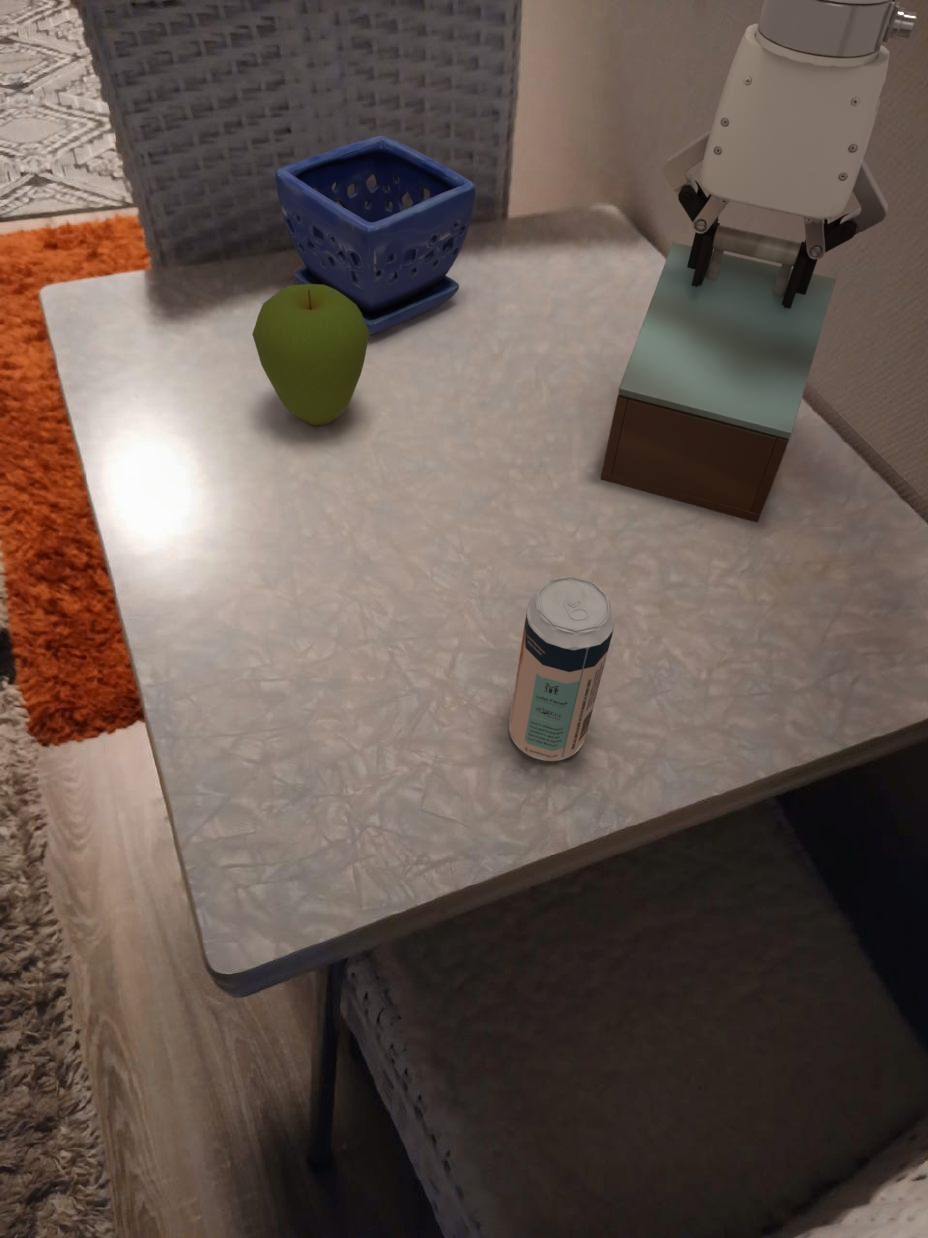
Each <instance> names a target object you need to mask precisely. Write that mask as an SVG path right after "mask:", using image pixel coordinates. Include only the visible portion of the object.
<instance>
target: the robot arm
mask: <svg viewBox="0 0 928 1238" xmlns="http://www.w3.org/2000/svg"><path fill="white" fill-rule="evenodd" d="M900 5H901V1H899V0H763V4H762V8H761V10H760V11H761V12H760V16H759V20H758V23H753V24H750V25H748V27H746V29H745V32H744V34H743V35H742V38H741V40H740V42H739V44H738V47H737V50H736V51H735V55H734V57H733V61H732V63H731V66H730V68H729V71H728V74H727V78H726V80H725V83H724V85H723V90H722V92H721V95H720V99H719V102H718V105H717V108H716V111H715V115H714V119H713V122H712V124H711V125H712V126H711V128H710V129H708V130H707V131H705V132H704V133H703V134H701V135H700V136H698V137H696V139H694V140H693V141H691V142H689V143H688V144H687V145H685V146H683V147H682V148H681V149H679V150H678V151H676V152H674V153H673V154H672V155H670V156H669V157H668V158H667V159H666V161H664V164H663V166H662V170H661V171H662V174H663V176H664V178H665V179H666V181H667V183H668V184H669V185H670V187H671V189H672V190H673V192H675V193H676V195H677V199H678V202H679V203H680V205H681V207H682V208H683V210H684V211H685V213H686V215H687V216H688V218H689V219H690V221H691V223H692V224H691V225H692V229H693V231H694V232H695V233H694V236H693V240H692V245H691V246H692V249H691V253H690V257H689V261H688V265H687V268H691V269H695V272H694V276H693V280H692V285H691V286H695V287H698V286H701V285H702V283H703V280H704V278H705V276H706V273H707V271H708V268H709V264H710V260H711V256H712V253H713V251H714V248H712V243H713V239H714V236H715V232H716V229H717V227H718V225H721V223H720V222H719V220H720V219H719V216H720V215H721V214H722V212H723V211H724V209H725V208H726V206H727V205H728V204H729V202H731V203H732V202H733V203H737V204H742V205H746V206H750V207H755V208H760V209H765V210H768V211H773V212H778V213H783V214H786V215H787V214H788V215H792V216H797V217H801V218H803V222H804V233H805V239H804V241H801V242H800V243H801V247H800V250H799V253H798V256H797V259H796V262H795V265H794V266H792V268H791V269H792V272H791V275H790V278H789V282H788V285H787V288H786V291H785V294H784V298H783V301H782V305H784V308H788V309H791V306H792V303H793V300H794V297H795V294H796V293H798V294H803V295H805V294H806V292H807V289H808V286H809V283H810V280H811V277H812V274H814V271H815V268H816V265H817V263H818V260H820V259H822V258H823V257H824V256H825V254H826V253H827V252H830V251H831V250H833V249H835V248H837V247H839V246H841V245H842V244H844V243H847V242H848V241H850V240H851V239H853V238H854V237H855V236H856V235H857V234H859V233H863V232H865V231H867V230H868V229H870V228H872V227H874V226H876V225H877V224H880V223H881V222H883V221H884V220H886V218H887V215H888V209H889V204H888V202H887V200H886V198H885V196H884V194H883V192H882V190H881V188H880V186H879V185H878V183H877V181H876V179H875V178H874V175H873V173H872V171H871V170H870V168H869V166H868V164H867V162H866V160H865V154H866V151H867V149H868V145H869V142H870V140H871V137H872V132H873V128H874V126H875V122H876V119H877V116H878V112H879V108H880V104H881V100H882V96H883V93H884V89H885V86H886V85H885V84H886V79H887V74H888V68H889V62H890V50H889V49H888V48H887V47H885V46H884V45H882V44H883V43H888V40H889V38H891V39H896V38H897V37H900V38H904V39H909V38H910V37H911V34H912V31H913V28H914V27H915V22H916V20H917V16H918V12H917V11H909V10H906V9H907V8H906V7H903V6H900ZM700 162H702V163H701V168H700V173H699V182H698V181H697V180H695V179H694V177H693V174H692V172H691V171H690V169H691V168H693V167H694V166H696V165H697V164H699V163H700ZM704 191H705V192H706V193H707V194H708V195H706V193H705V192H704ZM852 193H853V194H854V196H855V198H856V200H857V202H858V204H859V207H858V208H856V209H855V210H854V211H852V212H850V213H846V214H843V215H842V213H843V212H844V210H845V209H846V207H847V205H848V202H849V200H850V198H851V195H852ZM840 215H841V216H840ZM834 218H836V219H834ZM831 219H834V220H833V221H829V220H831Z"/></svg>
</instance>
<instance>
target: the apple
mask: <svg viewBox="0 0 928 1238" xmlns="http://www.w3.org/2000/svg"><path fill="white" fill-rule="evenodd" d="M370 335H371V334H370V332H369V330H368V328H367V325H366V323H365V320H364V318H363V315H362V313H361V312H360V310H359V308H358V307H357V305H356V304H355V303H354V302H352V301H351V300H350V299H348V298H347V297H346V296H344V295H343V294H341V293H340V292H339V291H337V290H335V289H333V288H331V287H328V286H326V285H320V284H301V285H299V284H293V285H290V286H287V287H284V288H282V289H280V290H279V291H278V292H276V293H275V294H273V295H272V296H271V297H269V298H268V299H267V300H266V301H264V302H263V303H262V306H261V308H260V311H259V313H258V316H257V319H256V322H255V325H254V328H253V330H252V338H253V342H254V344H255V348H256V352H257V354H258V358H259V361H260V365H261V367H262V369H263V371H264V373H265V375H266V377H267V379H268V380H269V382H270V384H271V386H272V387H273V389H274V391H275V393H276V394H277V396H278V398H279V400H280V401H281V404H282V406H283V407H284V408H285V409H287V411H289V413H290V414H292V415H294V416H295V417H297V418H298V419H299V420H301V421H302V422H304V423H306V424H308V425H310V426H317V427H319V426H324V425H327V424H330V423H332V422H334V421H336V420H337V418H338V417H340V415H341V414H342V413H343V412H344V411H345V410H346V409H347V408H348V407H349V405H350V404H351V403H350V402H351V400H352V398H353V395H354V392H355V390H356V389H357V388H356V387H357V385H358V382H359V380H360V377H361V375H362V371H363V368H364V364H365V359H366V355H367V354H366V353H367V350H368V344H369V339H370Z"/></svg>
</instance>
